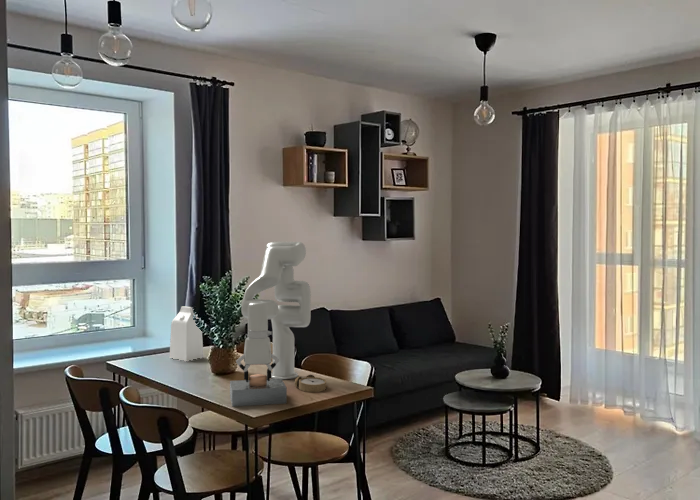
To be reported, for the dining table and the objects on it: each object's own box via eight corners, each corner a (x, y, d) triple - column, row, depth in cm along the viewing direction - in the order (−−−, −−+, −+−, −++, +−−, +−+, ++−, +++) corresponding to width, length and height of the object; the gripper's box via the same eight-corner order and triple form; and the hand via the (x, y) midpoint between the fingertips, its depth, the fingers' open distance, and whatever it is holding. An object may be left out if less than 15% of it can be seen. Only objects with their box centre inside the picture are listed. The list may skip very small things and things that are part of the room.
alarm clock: (310, 386, 256) (288, 373, 267) (309, 398, 257) (287, 385, 268) (332, 382, 263) (310, 370, 274) (331, 393, 264) (308, 381, 275)
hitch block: (229, 396, 251) (229, 380, 251) (281, 393, 256) (281, 378, 256) (232, 406, 236) (232, 390, 236) (286, 403, 241) (286, 387, 241)
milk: (203, 357, 327) (203, 306, 326) (186, 361, 317) (186, 308, 316) (186, 355, 333) (186, 305, 332) (169, 358, 323) (169, 307, 323)
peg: (248, 396, 249) (248, 374, 248) (265, 395, 250) (265, 374, 250) (250, 401, 242) (250, 378, 242) (267, 400, 244) (267, 377, 243)
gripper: (279, 332, 251) (279, 377, 252) (233, 333, 247) (233, 379, 247) (281, 335, 244) (281, 382, 244) (235, 337, 240) (235, 384, 240)
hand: (257, 380), depth 246 cm, fingers open, 7 cm apart
